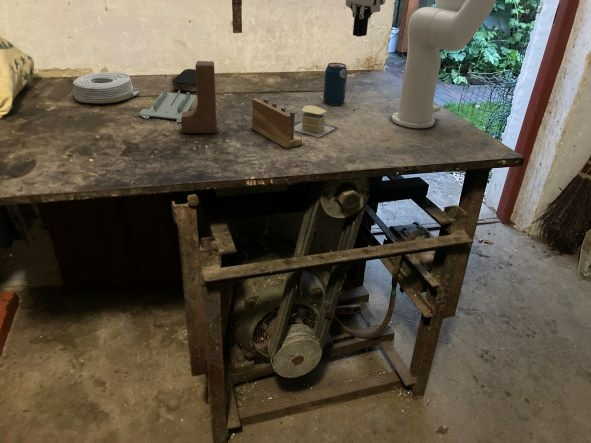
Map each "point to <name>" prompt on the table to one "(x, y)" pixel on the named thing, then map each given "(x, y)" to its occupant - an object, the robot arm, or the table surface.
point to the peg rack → (274, 123)
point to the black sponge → (186, 81)
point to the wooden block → (202, 102)
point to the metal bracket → (169, 106)
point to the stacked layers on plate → (313, 122)
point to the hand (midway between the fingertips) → (359, 35)
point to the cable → (104, 88)
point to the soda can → (335, 83)
